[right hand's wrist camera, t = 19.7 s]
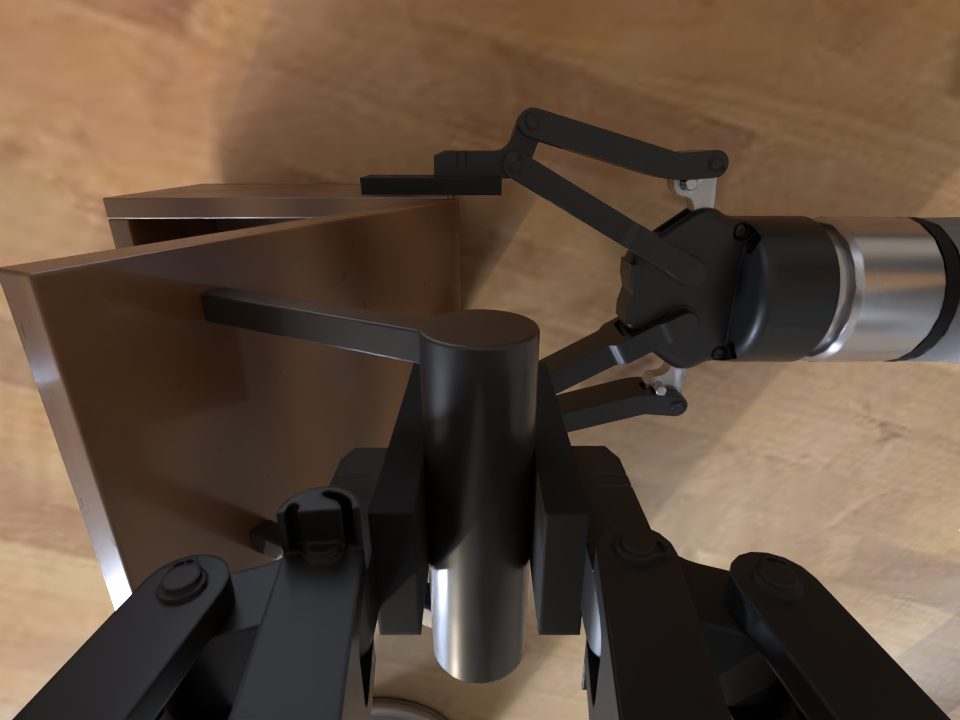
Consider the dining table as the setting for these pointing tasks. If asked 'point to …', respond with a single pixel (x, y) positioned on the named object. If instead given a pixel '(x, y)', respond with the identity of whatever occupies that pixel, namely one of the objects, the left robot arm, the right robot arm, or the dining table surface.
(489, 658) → the lid
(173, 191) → the chest
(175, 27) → the dining table surface
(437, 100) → the dining table surface
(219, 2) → the dining table surface
